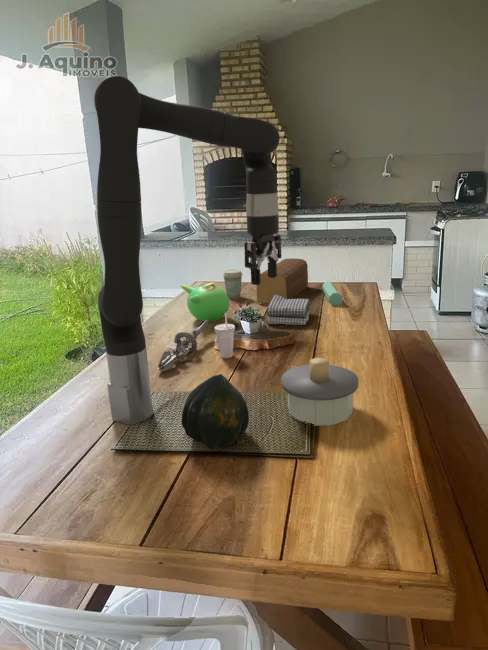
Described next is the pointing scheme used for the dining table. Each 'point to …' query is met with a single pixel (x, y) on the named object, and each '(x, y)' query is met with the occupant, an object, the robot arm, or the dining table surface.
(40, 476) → the dining table surface
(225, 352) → the smoothie
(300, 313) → the towel
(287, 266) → the bread
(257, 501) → the dining table surface
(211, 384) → the squash
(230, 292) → the coffee cup
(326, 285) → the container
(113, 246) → the robot arm
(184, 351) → the spaceship
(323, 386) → the lid
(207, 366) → the dining table surface
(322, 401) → the bowl
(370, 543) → the dining table surface
